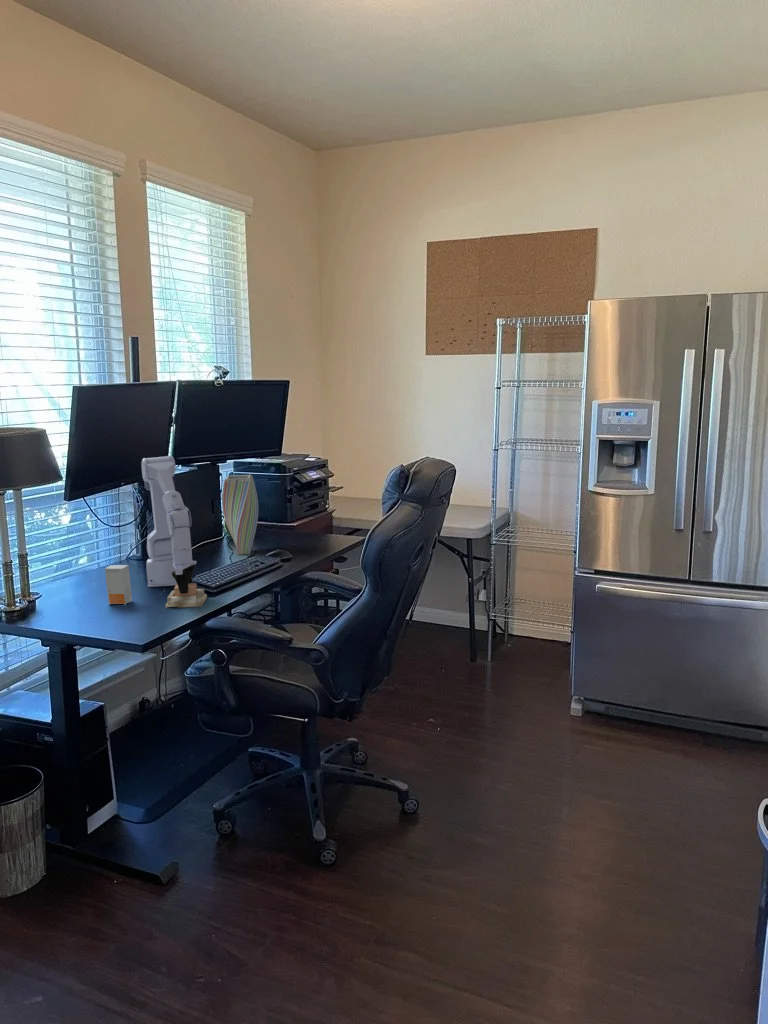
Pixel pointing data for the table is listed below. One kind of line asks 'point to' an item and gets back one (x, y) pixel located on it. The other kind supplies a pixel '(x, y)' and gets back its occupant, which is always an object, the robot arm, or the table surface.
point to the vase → (240, 510)
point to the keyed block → (191, 590)
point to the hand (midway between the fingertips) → (185, 590)
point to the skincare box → (118, 584)
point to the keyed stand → (186, 599)
